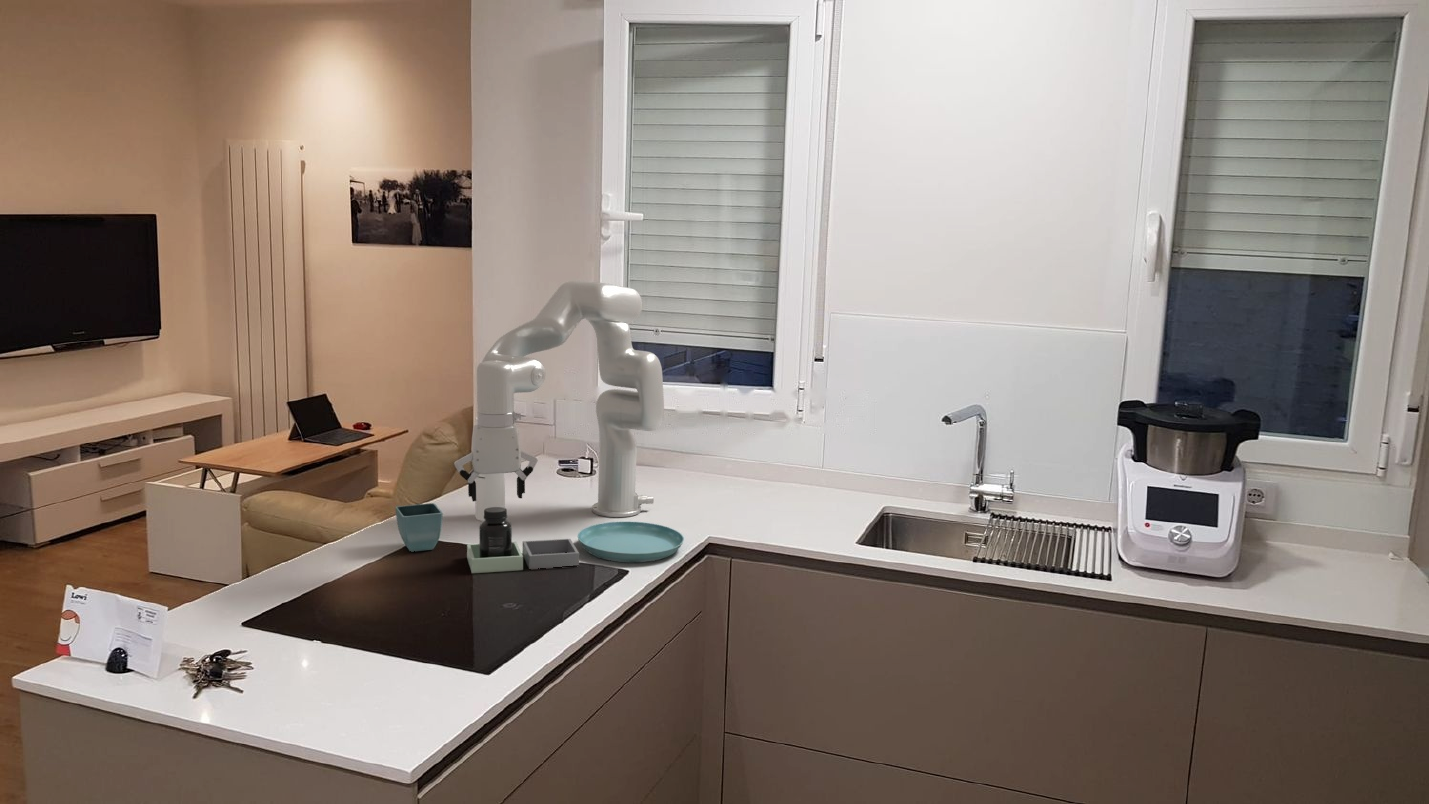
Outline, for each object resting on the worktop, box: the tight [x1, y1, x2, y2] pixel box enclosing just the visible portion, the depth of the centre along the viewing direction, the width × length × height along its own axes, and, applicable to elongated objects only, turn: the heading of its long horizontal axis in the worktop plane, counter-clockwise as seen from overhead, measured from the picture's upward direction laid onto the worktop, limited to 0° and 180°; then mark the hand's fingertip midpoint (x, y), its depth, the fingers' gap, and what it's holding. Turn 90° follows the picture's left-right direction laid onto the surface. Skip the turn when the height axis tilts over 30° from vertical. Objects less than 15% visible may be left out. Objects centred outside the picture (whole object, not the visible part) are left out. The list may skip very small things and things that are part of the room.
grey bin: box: [522, 538, 580, 570], centre depth 230 cm, size 11×11×3 cm
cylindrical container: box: [474, 416, 506, 522], centre depth 259 cm, size 7×7×25 cm
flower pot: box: [394, 502, 444, 553], centre depth 234 cm, size 9×9×9 cm
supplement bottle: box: [478, 507, 513, 558], centre depth 226 cm, size 7×7×12 cm
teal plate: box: [577, 521, 685, 563], centre depth 240 cm, size 24×24×3 cm
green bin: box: [466, 541, 524, 574], centre depth 226 cm, size 11×11×3 cm
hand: (496, 498), depth 225 cm, fingers open, 9 cm apart
